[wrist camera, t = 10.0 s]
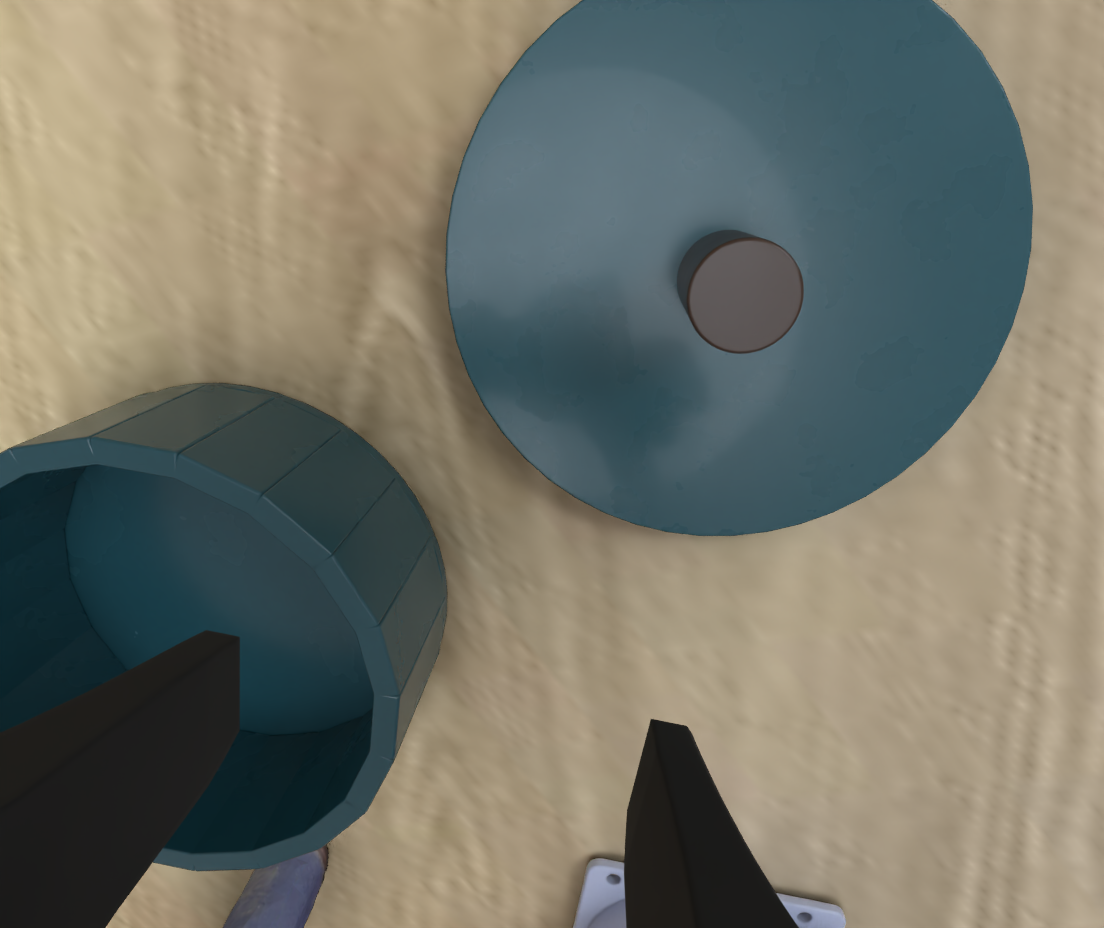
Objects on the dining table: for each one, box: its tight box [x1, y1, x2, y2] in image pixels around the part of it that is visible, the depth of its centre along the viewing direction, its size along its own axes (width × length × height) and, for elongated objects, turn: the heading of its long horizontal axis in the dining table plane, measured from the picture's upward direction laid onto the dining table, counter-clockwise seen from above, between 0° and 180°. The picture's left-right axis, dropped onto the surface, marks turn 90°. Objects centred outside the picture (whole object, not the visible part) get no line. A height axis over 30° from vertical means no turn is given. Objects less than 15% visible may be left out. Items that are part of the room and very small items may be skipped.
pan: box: [0, 383, 447, 871], centre depth 21 cm, size 13×13×6 cm
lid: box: [445, 0, 1033, 536], centre depth 17 cm, size 14×14×4 cm
